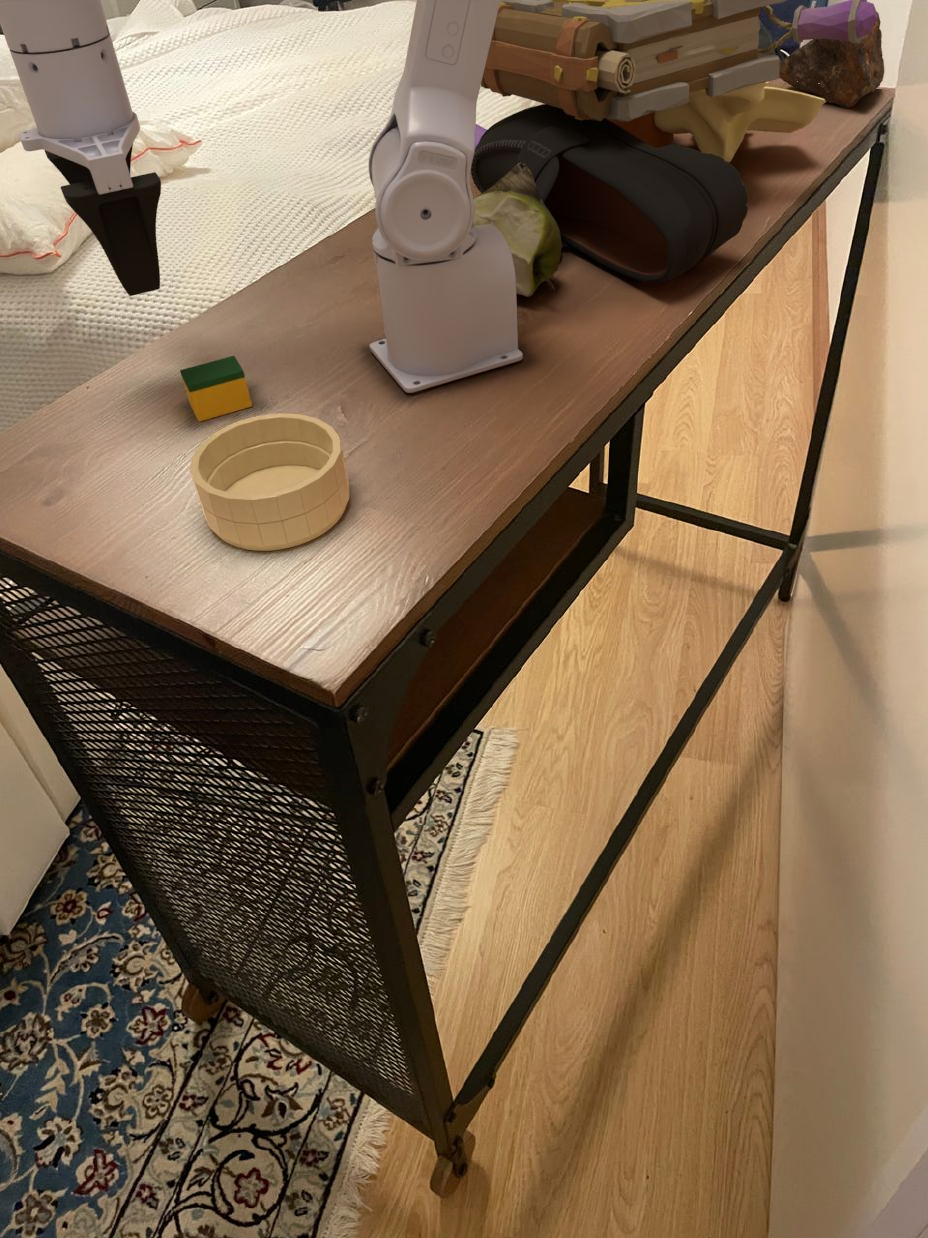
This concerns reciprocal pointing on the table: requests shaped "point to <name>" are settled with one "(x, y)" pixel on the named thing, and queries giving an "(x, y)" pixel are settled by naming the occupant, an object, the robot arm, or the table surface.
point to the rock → (837, 68)
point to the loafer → (618, 190)
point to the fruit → (522, 227)
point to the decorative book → (646, 50)
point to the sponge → (216, 388)
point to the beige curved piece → (738, 116)
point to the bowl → (271, 481)
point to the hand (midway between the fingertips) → (133, 269)
